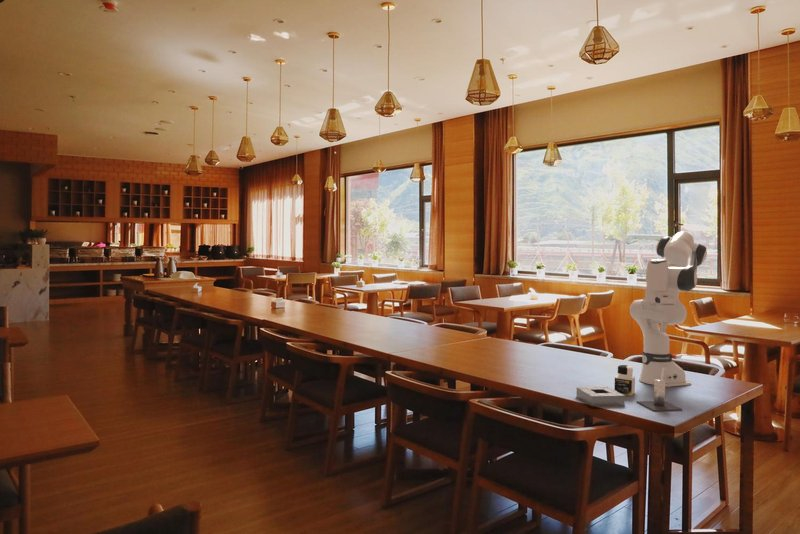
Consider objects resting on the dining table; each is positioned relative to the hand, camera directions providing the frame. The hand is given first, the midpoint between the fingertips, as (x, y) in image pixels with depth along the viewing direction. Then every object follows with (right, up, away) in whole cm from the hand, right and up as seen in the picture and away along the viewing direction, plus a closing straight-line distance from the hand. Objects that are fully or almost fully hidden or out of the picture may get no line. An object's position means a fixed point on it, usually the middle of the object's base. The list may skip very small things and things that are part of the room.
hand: (655, 330), depth 232 cm
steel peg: (-3, -29, -9) cm, 30 cm away
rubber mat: (-3, -30, -9) cm, 31 cm away
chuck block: (-24, -29, -2) cm, 38 cm away
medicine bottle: (-9, -29, +11) cm, 32 cm away
